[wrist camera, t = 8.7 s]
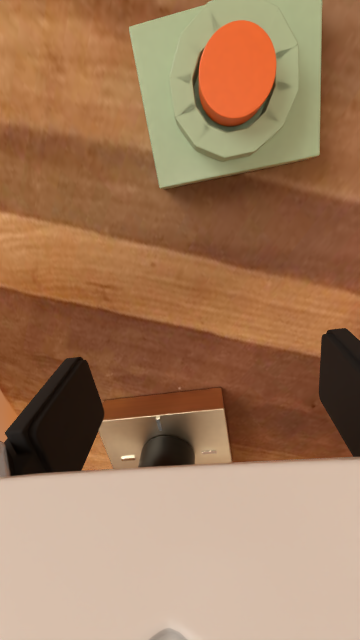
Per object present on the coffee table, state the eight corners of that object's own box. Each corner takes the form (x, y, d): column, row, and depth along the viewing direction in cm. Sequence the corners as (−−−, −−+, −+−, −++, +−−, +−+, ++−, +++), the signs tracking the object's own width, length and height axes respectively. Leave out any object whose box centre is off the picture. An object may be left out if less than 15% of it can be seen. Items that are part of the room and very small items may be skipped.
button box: (163, 189, 20) (155, 188, 16) (136, 46, 17) (119, 4, 13) (306, 159, 19) (333, 150, 15) (306, -1, 15) (341, -62, 12)
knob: (135, 437, 26) (120, 499, 21) (190, 433, 25) (188, 495, 20) (147, 475, 28) (136, 540, 23) (198, 471, 27) (198, 537, 22)
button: (203, 133, 15) (204, 126, 14) (193, 50, 14) (192, 31, 12) (269, 118, 15) (278, 108, 13) (265, 31, 13) (275, 9, 12)
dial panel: (128, 467, 32) (122, 493, 29) (104, 399, 28) (93, 423, 25) (232, 459, 31) (235, 486, 28) (221, 386, 27) (224, 409, 24)
